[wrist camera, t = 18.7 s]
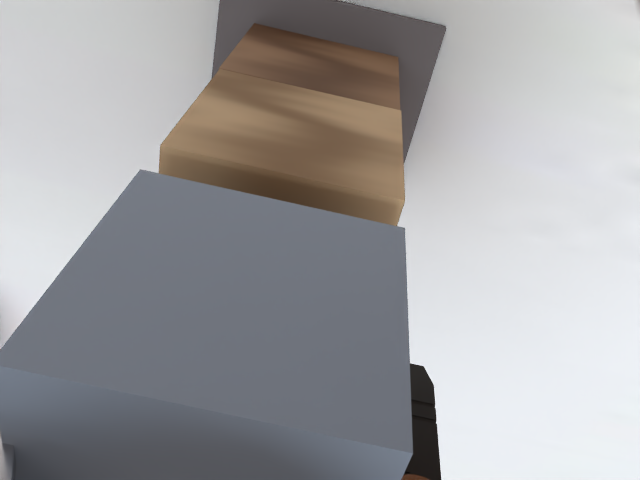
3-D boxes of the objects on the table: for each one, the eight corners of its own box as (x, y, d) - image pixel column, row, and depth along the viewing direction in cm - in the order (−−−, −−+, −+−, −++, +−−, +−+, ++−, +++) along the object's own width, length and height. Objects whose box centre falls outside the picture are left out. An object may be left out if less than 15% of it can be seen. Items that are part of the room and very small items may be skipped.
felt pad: (203, 172, 29) (201, 176, 28) (224, -27, 24) (222, -25, 24) (386, 214, 29) (386, 218, 29) (445, 26, 24) (446, 28, 24)
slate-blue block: (134, 360, 17) (23, 580, 12) (140, 169, 13) (-11, 363, 8) (346, 405, 17) (327, 642, 12) (404, 227, 13) (412, 453, 8)
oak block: (202, 223, 23) (149, 329, 18) (219, 68, 19) (160, 145, 14) (358, 257, 23) (349, 372, 18) (401, 110, 20) (404, 200, 15)
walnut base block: (236, 155, 28) (201, 222, 23) (254, 23, 24) (218, 68, 19) (363, 184, 28) (357, 257, 23) (398, 57, 25) (400, 110, 20)
